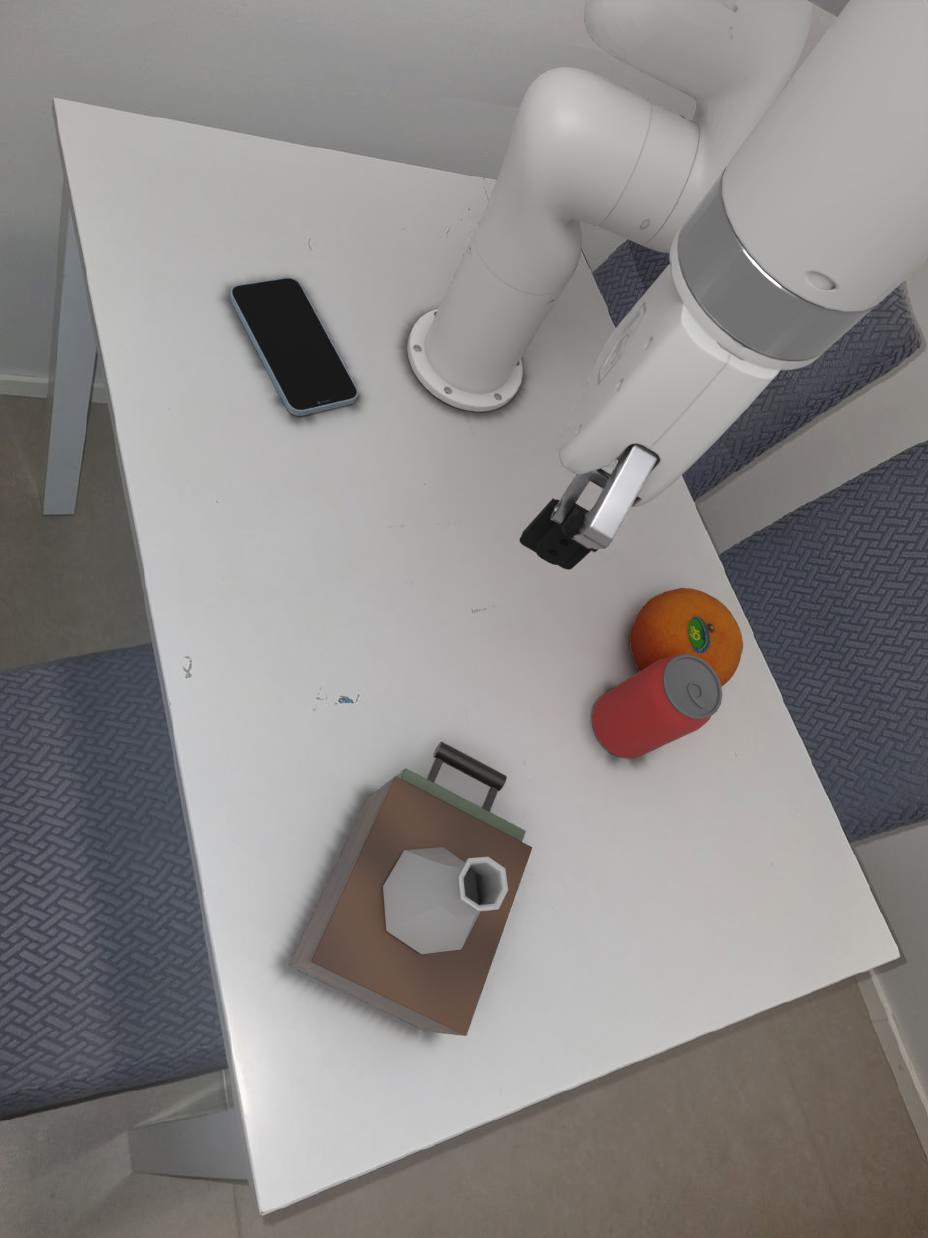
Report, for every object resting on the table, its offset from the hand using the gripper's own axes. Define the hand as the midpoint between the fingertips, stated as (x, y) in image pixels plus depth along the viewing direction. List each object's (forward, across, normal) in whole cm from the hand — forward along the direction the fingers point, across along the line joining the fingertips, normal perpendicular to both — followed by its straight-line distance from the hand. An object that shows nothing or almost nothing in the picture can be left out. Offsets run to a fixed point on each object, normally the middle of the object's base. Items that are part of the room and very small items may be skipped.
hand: (572, 485), depth 48 cm
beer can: (+32, -5, +20) cm, 38 cm away
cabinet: (+31, +19, +7) cm, 37 cm away
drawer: (+31, +15, +7) cm, 35 cm away
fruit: (+32, -14, +22) cm, 42 cm away
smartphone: (+32, -24, -24) cm, 47 cm away
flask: (+23, +19, +7) cm, 31 cm away
